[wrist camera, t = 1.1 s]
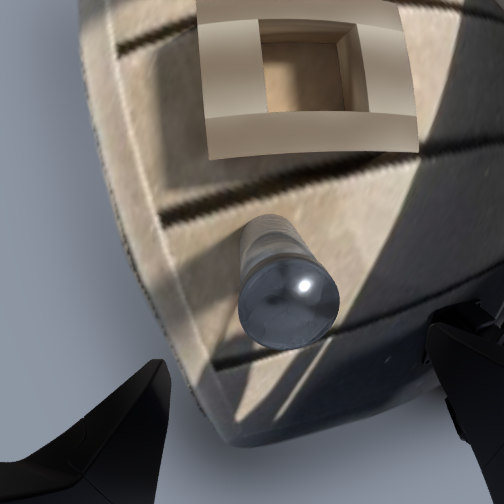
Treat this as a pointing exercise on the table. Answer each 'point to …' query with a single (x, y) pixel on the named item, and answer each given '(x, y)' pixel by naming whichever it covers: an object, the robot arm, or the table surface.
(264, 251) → the key peg
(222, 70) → the block
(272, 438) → the table surface
